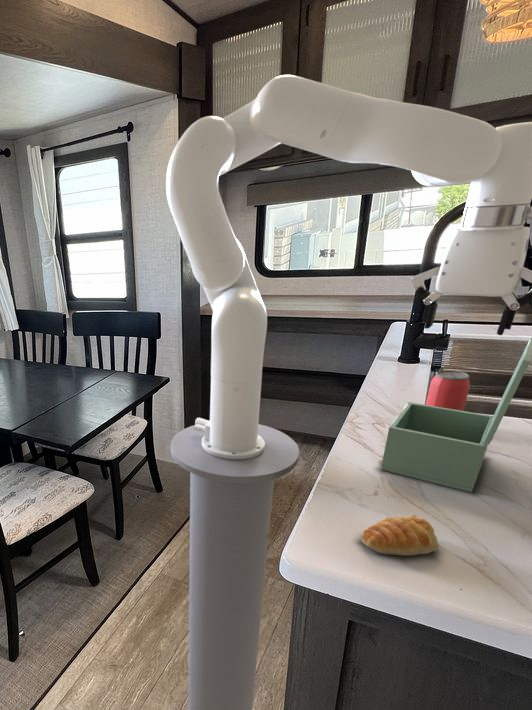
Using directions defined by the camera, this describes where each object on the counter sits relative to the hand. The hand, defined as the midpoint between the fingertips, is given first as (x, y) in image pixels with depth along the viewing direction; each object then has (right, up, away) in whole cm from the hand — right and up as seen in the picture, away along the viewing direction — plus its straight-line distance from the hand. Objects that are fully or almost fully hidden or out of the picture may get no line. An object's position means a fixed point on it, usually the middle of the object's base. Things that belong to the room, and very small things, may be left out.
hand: (462, 330), depth 78 cm
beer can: (+14, -16, +24) cm, 32 cm away
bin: (+3, -23, +10) cm, 26 cm away
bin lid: (+6, -10, -1) cm, 12 cm away
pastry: (-17, -34, -9) cm, 39 cm away
